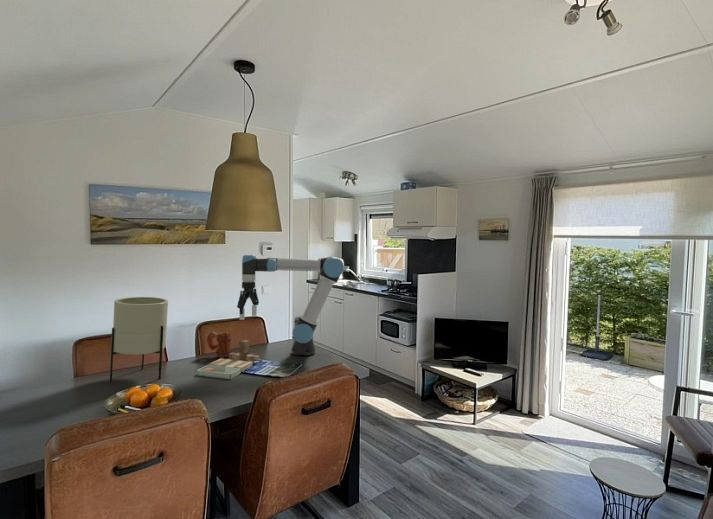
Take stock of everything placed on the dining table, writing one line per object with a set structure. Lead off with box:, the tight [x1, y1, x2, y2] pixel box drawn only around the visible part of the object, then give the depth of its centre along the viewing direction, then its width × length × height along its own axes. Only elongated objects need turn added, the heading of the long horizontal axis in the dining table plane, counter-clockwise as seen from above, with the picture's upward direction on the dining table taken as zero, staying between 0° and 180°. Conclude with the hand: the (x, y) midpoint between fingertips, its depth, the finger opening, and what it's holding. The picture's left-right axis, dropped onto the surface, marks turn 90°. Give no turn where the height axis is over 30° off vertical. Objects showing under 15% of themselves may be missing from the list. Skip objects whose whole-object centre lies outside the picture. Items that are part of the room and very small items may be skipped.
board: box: [208, 358, 254, 372], centre depth 215 cm, size 20×11×3 cm, turn 75°
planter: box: [108, 296, 169, 384], centre depth 197 cm, size 23×24×39 cm
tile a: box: [225, 365, 234, 374], centre depth 204 cm, size 4×4×2 cm
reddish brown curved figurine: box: [206, 330, 232, 359], centre depth 236 cm, size 15×8×15 cm, turn 84°
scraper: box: [228, 339, 260, 362], centre depth 227 cm, size 18×4×12 cm, turn 75°
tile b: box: [204, 367, 215, 372], centre depth 205 cm, size 4×4×2 cm
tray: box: [195, 364, 242, 380], centre depth 204 cm, size 20×10×3 cm, turn 75°
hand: (248, 317), depth 231 cm, fingers open, 13 cm apart
